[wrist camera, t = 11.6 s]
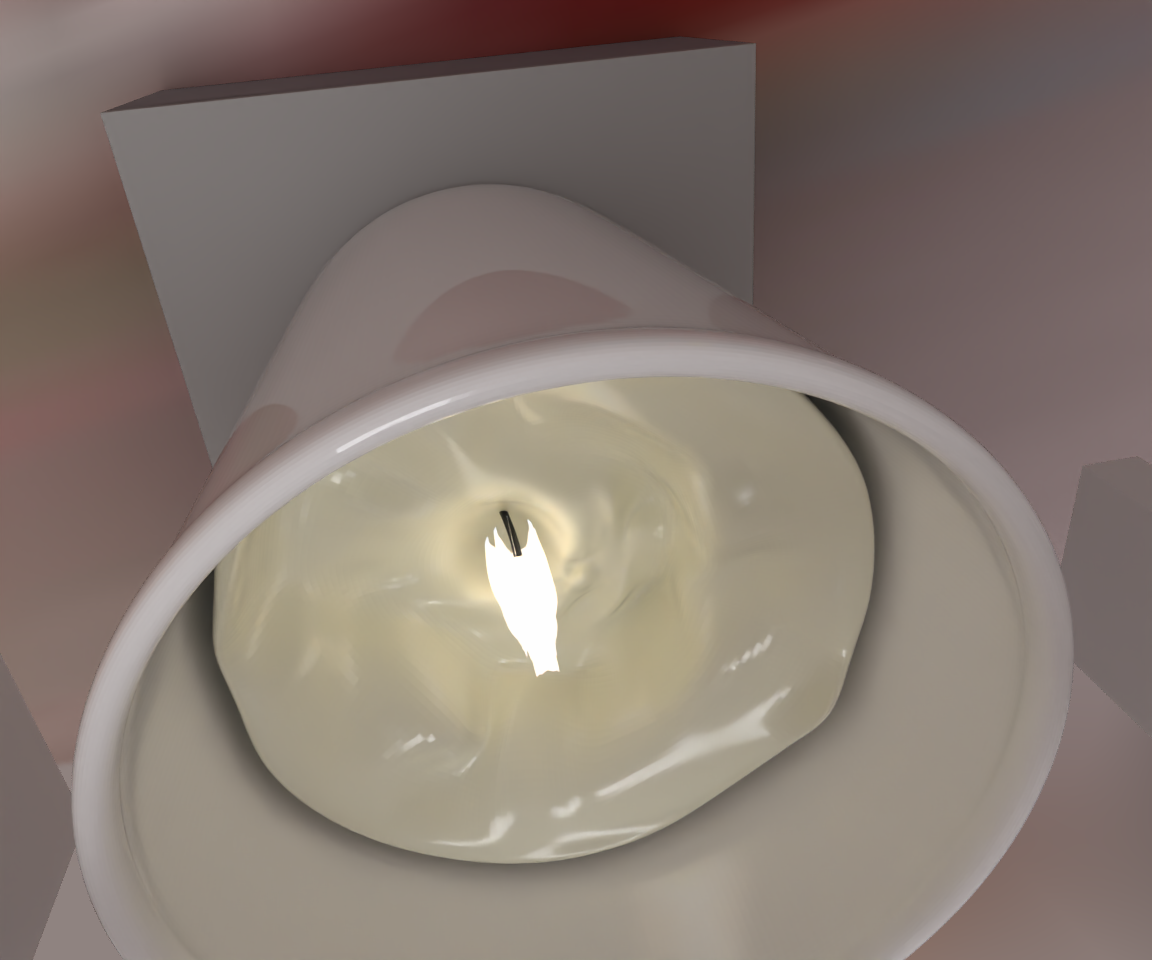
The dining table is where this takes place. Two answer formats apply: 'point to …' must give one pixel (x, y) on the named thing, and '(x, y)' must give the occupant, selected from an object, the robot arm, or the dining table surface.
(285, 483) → the candle holder
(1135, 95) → the dining table surface
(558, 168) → the block
